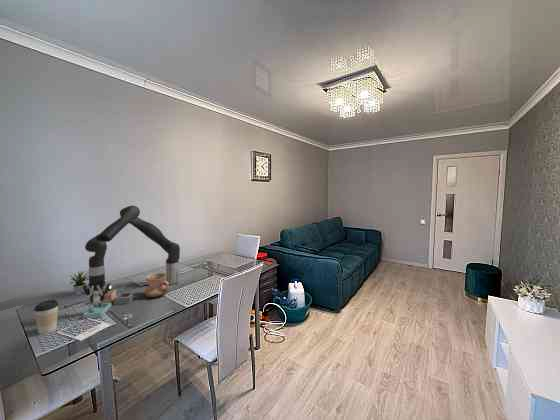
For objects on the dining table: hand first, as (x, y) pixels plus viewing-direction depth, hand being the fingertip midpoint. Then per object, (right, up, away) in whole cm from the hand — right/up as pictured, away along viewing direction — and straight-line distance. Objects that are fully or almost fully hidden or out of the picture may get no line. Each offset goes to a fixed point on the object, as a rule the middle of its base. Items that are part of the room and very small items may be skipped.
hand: (97, 300), depth 138 cm
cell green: (0, -3, 0) cm, 3 cm away
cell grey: (-5, -5, +15) cm, 16 cm away
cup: (-5, -6, +15) cm, 17 cm away
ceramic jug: (+22, -6, +26) cm, 35 cm away
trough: (0, -7, 0) cm, 7 cm away
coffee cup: (-12, -8, -18) cm, 23 cm away
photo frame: (+6, -9, -16) cm, 20 cm away
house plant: (-33, -5, +25) cm, 42 cm away
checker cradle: (+6, -6, +16) cm, 19 cm away
